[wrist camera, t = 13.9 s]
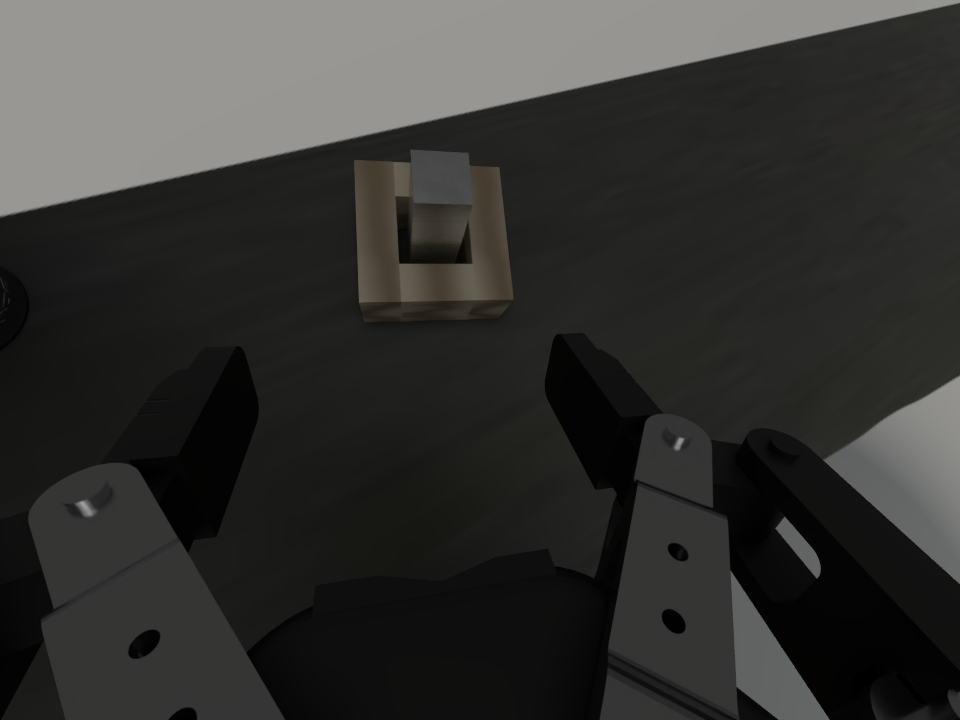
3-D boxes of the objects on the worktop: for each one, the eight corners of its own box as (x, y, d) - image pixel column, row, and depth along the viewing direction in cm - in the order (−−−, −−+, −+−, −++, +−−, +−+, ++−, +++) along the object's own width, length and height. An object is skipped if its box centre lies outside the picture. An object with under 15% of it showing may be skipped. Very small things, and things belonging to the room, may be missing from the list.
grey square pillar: (409, 278, 43) (413, 203, 30) (406, 240, 44) (410, 149, 31) (450, 278, 44) (473, 204, 31) (447, 240, 45) (468, 153, 31)
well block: (364, 322, 41) (359, 302, 36) (359, 197, 44) (354, 160, 38) (498, 318, 44) (513, 299, 38) (486, 201, 47) (498, 167, 41)
